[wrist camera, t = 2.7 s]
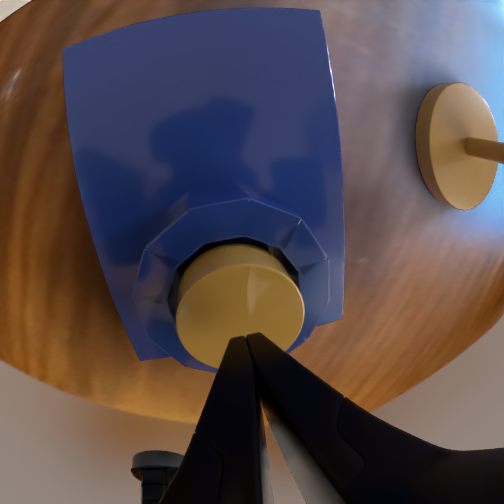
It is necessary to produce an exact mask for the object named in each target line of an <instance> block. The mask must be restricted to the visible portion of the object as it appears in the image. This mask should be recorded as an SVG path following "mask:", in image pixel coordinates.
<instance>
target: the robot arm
mask: <svg viewBox="0 0 504 504" xmlns="http://www.w3.org/2000/svg"><path fill="white" fill-rule="evenodd" d="M261 404H262V406H261ZM262 408H263V410H264V413H265V415H266V418H267V420H268V422H269V425H270V427H271V429H272V431H273V433H274V436H275V438H276V440H277V442H278V445H279V447H280V449H281V451H282V454H283V456H284V458H285V460H286V462H287V464H288V466H289V469H290V471H291V473H292V475H293V477H294V479H295V481H296V483H297V485H298V488H299V490H300V491H301V494H302V496H303V498H304V500H305V502H306V504H504V448H495V449H484V450H470V451H459V450H450V449H445V448H442V447H439V446H436V445H433V444H431V443H429V442H427V441H424V440H422V439H420V438H418V437H415V436H413V435H411V434H409V433H407V432H405V431H403V430H400V429H398V428H396V427H394V426H392V425H390V424H388V423H386V422H384V421H383V420H381V419H379V418H377V417H375V416H373V415H372V414H370V413H369V412H367V411H366V410H364V409H363V408H361V407H359V406H358V405H356V404H355V403H354V402H352V401H351V400H349V399H348V398H347V397H345V398H344V396H343V395H342V394H341V393H339V392H338V391H337V390H335V389H334V388H333V387H331V386H330V385H328V384H327V383H326V382H324V381H323V380H322V379H320V378H319V377H318V376H316V375H315V374H314V373H312V372H311V371H310V370H308V369H307V368H306V367H304V366H303V365H302V364H300V363H299V362H298V361H297V360H295V359H294V358H293V357H291V356H290V355H289V354H287V353H286V352H285V351H284V350H282V349H281V348H280V347H279V346H277V345H276V344H275V343H274V342H272V341H271V340H270V339H268V338H267V337H266V336H265V335H263V334H262V333H261V332H256V333H252V334H247V335H246V337H245V336H243V335H242V336H237V337H232V338H230V340H229V342H228V345H227V347H226V350H225V353H224V355H223V358H222V361H221V363H220V366H219V369H218V371H217V374H216V377H215V379H214V382H213V384H212V387H211V390H210V392H209V395H208V398H207V400H206V403H205V405H204V408H203V411H202V413H201V416H200V418H199V421H198V424H197V426H196V429H195V433H194V434H193V436H192V439H191V442H190V444H189V447H188V449H187V451H186V453H185V456H184V458H183V460H182V462H181V464H180V466H179V467H163V468H131V473H132V474H134V475H135V476H136V477H137V478H138V479H139V480H141V504H274V501H273V493H272V485H271V477H270V469H269V461H268V452H267V445H266V436H265V427H264V419H263V412H262Z"/></svg>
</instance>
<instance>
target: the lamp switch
mask: <svg viewBox="0 0 504 504" xmlns="http://www.w3.org/2000/svg"><path fill="white" fill-rule="evenodd" d="M304 315H305V307H304V301H303V298H302V295H301V293H300V291H299V289H298V287H297V286H296V284H295V283H294V281H293V280H292V278H291V277H290V276H289V274H288V273H287V271H286V270H285V268H284V267H283V265H282V264H281V262H280V261H279V260H278V259H277V258H276V257H275V256H274V255H272V254H271V253H270V252H268V251H266V250H264V249H262V248H260V247H257V246H254V245H250V244H243V243H232V244H225V245H221V246H217V247H215V248H212V249H210V250H208V251H206V252H204V253H202V254H201V255H200V256H198V257H197V258H196V259H195V260H194V261H193V262H192V263H191V264H190V265H189V266H188V267H187V269H186V270H185V272H184V274H183V275H182V278H181V280H180V283H179V287H178V296H177V309H176V330H177V334H178V337H179V339H180V341H181V343H182V345H183V346H184V348H185V349H186V350H187V351H188V352H189V353H190V354H191V355H192V356H193V357H194V358H195V359H197V360H198V361H200V362H202V363H204V364H206V365H208V366H211V367H214V368H218V369H219V366H220V363H221V361H222V358H223V355H224V353H225V350H226V347H227V345H228V342H229V340H230V338H232V337H237V336H242V335H243V336H245V337H246V335H247V334H252V333H256V332H261V333H262V334H263V335H265V336H266V337H267V338H268V339H270V340H271V341H272V342H274V343H275V344H276V345H277V346H279V347H280V348H281V349H282V350H284V351H286V350H287V349H288V348H289V347H290V346H291V345H292V344H293V343H294V341H295V340H296V338H297V337H298V335H299V333H300V331H301V328H302V325H303V321H304Z"/></svg>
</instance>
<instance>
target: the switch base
mask: <svg viewBox="0 0 504 504" xmlns="http://www.w3.org/2000/svg"><path fill="white" fill-rule="evenodd" d="M63 78H64V93H65V105H66V114H67V123H68V130H69V137H70V144H71V150H72V156H73V161H74V167H75V172H76V177H77V181H78V186H79V190H80V195H81V199H82V203H83V207H84V211H85V215H86V219H87V222H88V226H89V229H90V233H91V236H92V240H93V243H94V246H95V249H96V253H97V256H98V259H99V262H100V265H101V268H102V271H103V274H104V276H105V279H106V282H107V285H108V287H109V290H110V293H111V295H112V298H113V301H114V303H115V306H116V308H117V311H118V313H119V315H120V318H121V320H122V323H123V325H124V327H125V329H126V332H127V334H128V336H129V338H130V341H131V343H132V345H133V347H134V349H135V351H136V354H137V356H138V358H139V360H140V361H144V360H152V359H159V358H166V357H172V358H174V359H175V360H176V361H178V362H179V363H181V364H182V365H184V366H185V367H190V368H195V369H199V370H204V371H210V372H215V373H217V371H218V368H214V367H211V366H208V365H206V364H204V363H202V362H200V361H198V360H197V359H195V358H194V357H193V356H192V355H191V354H190V353H189V352H188V351H187V350H186V349H185V348H184V346H183V345H182V343H181V341H180V339H179V337H178V334H177V330H176V309H177V296H178V287H179V283H180V280H181V278H182V275H183V274H184V272H185V270H186V269H187V267H188V266H189V265H190V264H191V263H192V262H193V261H194V260H195V259H196V258H197V257H198V256H200V255H201V254H202V253H204V252H206V251H208V250H210V249H212V248H215V247H217V246H221V245H225V244H232V243H243V244H250V245H254V246H257V247H260V248H262V249H264V250H266V251H268V252H270V253H271V254H272V255H274V256H275V257H276V258H277V259H278V260H279V261H280V262H281V264H282V265H283V267H284V268H285V270H286V271H287V273H288V274H289V276H290V277H291V278H292V280H293V281H294V283H295V284H296V286H297V287H298V289H299V291H300V293H301V295H302V298H303V301H304V307H305V315H304V321H303V325H302V328H301V331H300V333H299V335H298V337H297V338H296V340H295V341H294V343H293V344H292V345H291V346H290V347H289V348H288V349H287V350H286V351H285V352H286V353H287V354H288V353H290V352H291V351H292V350H294V349H295V348H297V347H298V346H300V345H301V344H302V343H304V342H305V341H306V340H307V339H308V338H309V337H310V335H311V333H312V332H313V330H314V328H315V327H316V326H319V325H323V324H327V323H330V322H334V321H337V320H340V319H342V318H343V301H344V268H345V228H344V195H343V175H342V160H341V148H340V136H339V126H338V117H337V108H336V100H335V93H334V86H333V79H332V72H331V66H330V60H329V54H328V49H327V43H326V38H325V33H324V28H323V23H322V19H321V14H320V11H319V10H309V9H296V8H233V9H220V10H209V11H201V12H193V13H186V14H180V15H174V16H169V17H164V18H159V19H154V20H150V21H145V22H141V23H137V24H133V25H130V26H126V27H122V28H119V29H116V30H112V31H109V32H106V33H103V34H100V35H97V36H94V37H92V38H89V39H86V40H83V41H81V42H78V43H76V44H73V45H71V46H68V47H66V48H64V49H63Z"/></svg>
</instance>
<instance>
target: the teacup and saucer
mask: <svg viewBox="0 0 504 504" xmlns="http://www.w3.org/2000/svg"><path fill="white" fill-rule="evenodd" d="M30 1H31V0H0V22H1V21H2V20H3V19H5V18H6V17H8V16H9V15H10V14H12V13H13V12H15V11H16V10H18V9H19V8H21V7H22V6H24V5H25V4H27V3H28V2H30Z"/></svg>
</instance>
